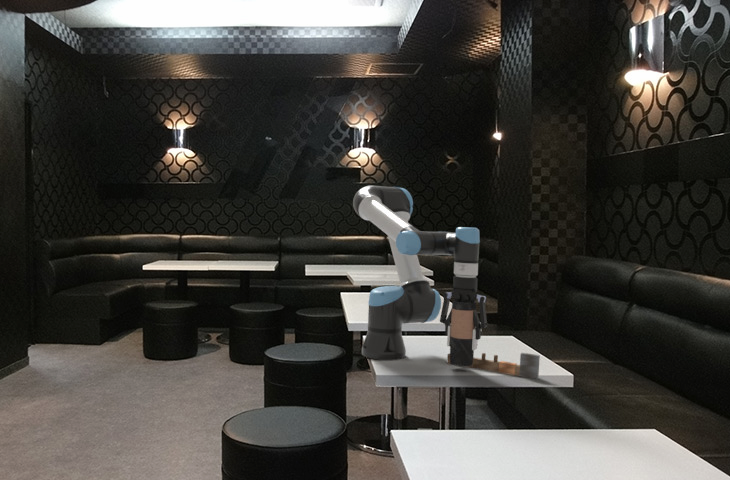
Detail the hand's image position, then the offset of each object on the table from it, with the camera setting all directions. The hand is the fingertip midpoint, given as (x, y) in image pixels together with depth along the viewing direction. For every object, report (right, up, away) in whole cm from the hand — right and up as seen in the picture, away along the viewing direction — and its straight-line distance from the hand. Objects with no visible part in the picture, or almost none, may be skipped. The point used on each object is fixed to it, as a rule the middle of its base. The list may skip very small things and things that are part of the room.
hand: (461, 347), depth 191 cm
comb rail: (+10, -8, +1) cm, 12 cm away
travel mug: (0, -5, 0) cm, 5 cm away
